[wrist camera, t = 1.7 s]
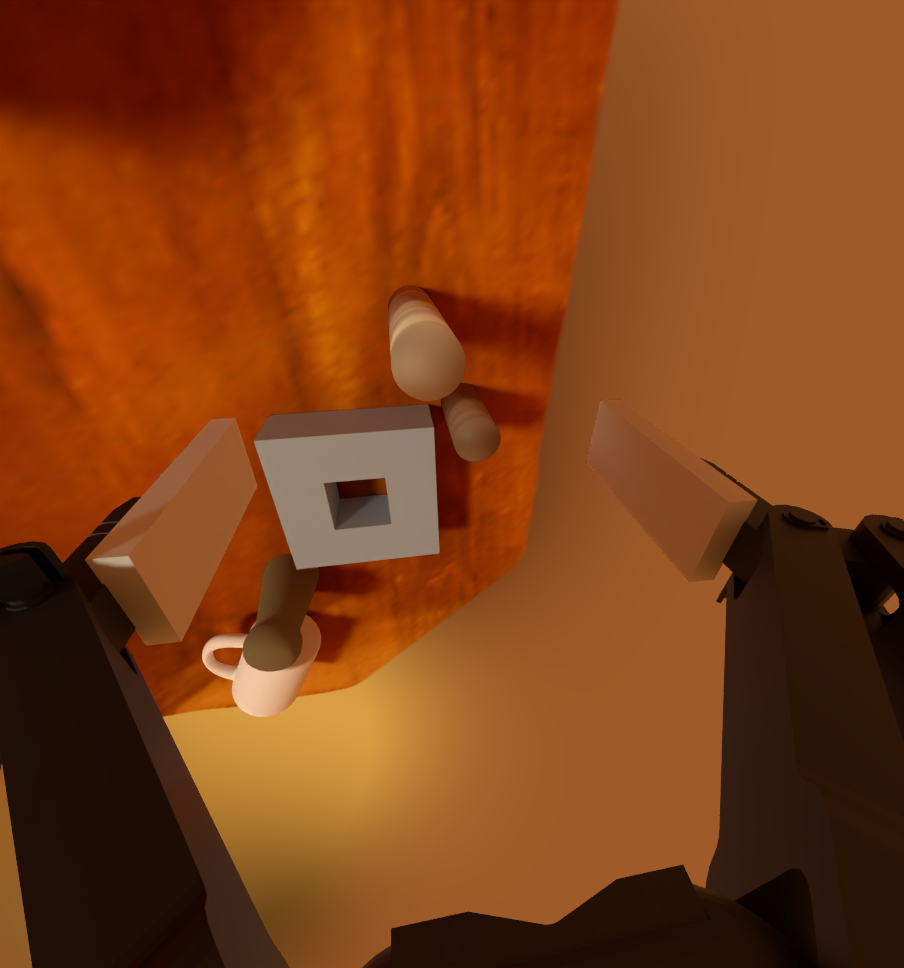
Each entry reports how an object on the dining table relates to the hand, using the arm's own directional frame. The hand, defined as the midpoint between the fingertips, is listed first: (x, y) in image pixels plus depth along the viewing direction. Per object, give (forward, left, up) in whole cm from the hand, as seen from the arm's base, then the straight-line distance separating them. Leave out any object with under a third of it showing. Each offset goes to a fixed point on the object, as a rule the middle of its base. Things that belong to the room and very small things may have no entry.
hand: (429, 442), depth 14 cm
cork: (+26, -15, -21) cm, 37 cm away
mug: (+36, -20, -21) cm, 46 cm away
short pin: (+7, +5, -21) cm, 22 cm away
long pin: (-1, +1, -21) cm, 21 cm away
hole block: (+14, -5, -21) cm, 26 cm away
